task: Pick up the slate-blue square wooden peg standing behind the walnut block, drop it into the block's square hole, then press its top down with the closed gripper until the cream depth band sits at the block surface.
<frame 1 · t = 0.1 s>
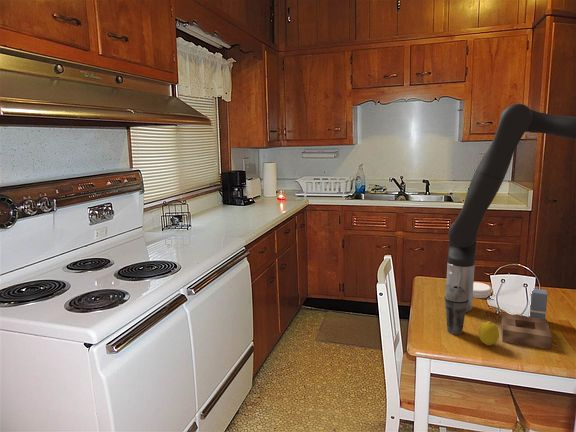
board: (524, 335, 135), on the table
white shallow cylinder: (477, 294, 170), on the table
peg: (536, 321, 144), on the table
beverage cup: (454, 332, 139), on the table
lemon: (488, 346, 129), on the table
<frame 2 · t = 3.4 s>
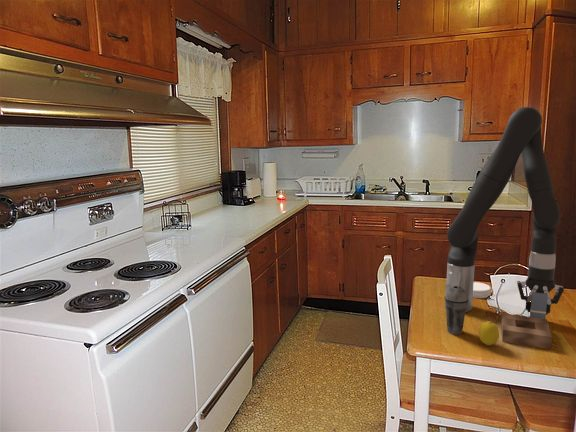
hand: (537, 312, 144), 3 cm above the table, tool pointing down, fingers closed on peg, 4 cm apart
peg: (536, 321, 144), on the table, touching gripper
everything else where it was.
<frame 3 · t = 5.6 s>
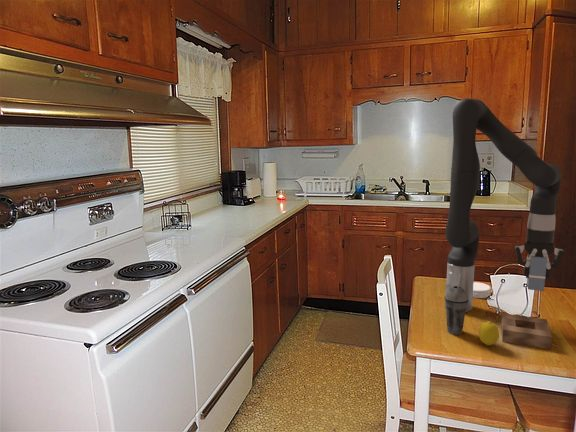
hand: (536, 278, 137), 17 cm above the table, tool pointing down, fingers closed on peg, 4 cm apart
peg: (535, 287, 138), point 14 cm above the table, touching gripper
everything else where it was.
when the fingers open (6 cm above the table, at t = 8.2 s): peg drops 2 cm, resting in board.
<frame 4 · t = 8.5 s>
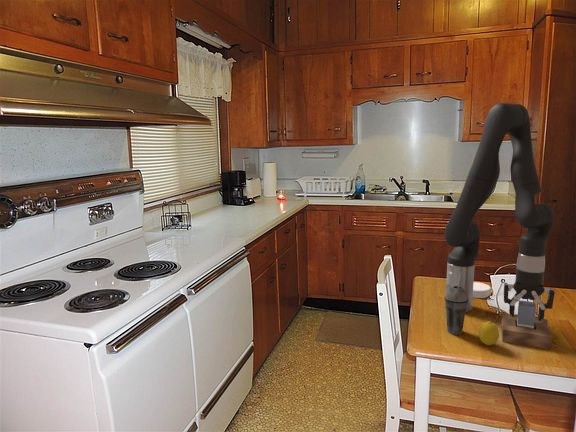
hand: (525, 317, 133), 6 cm above the table, tool pointing down, fingers open, 7 cm apart
peg: (524, 335, 135), resting in board
everything else where it was.
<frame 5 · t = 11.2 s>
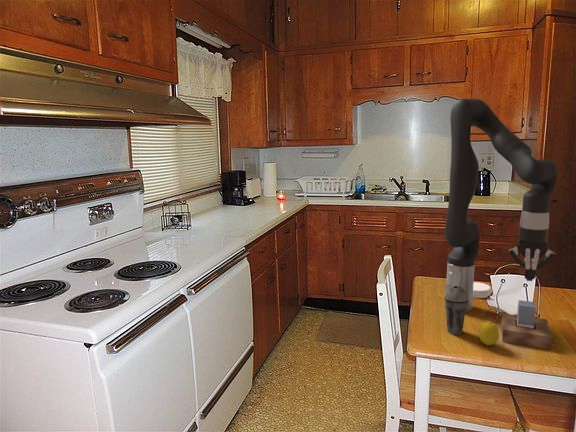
hand: (529, 280, 131), 19 cm above the table, tool pointing down, fingers closed
nothing on the table moved.
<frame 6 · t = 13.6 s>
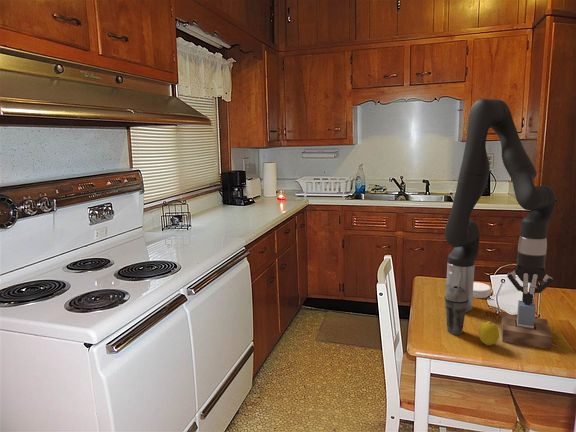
hand: (527, 304, 133), 11 cm above the table, tool pointing down, fingers closed
peg: (523, 336, 135), resting in board, touching gripper
everything else where it was.
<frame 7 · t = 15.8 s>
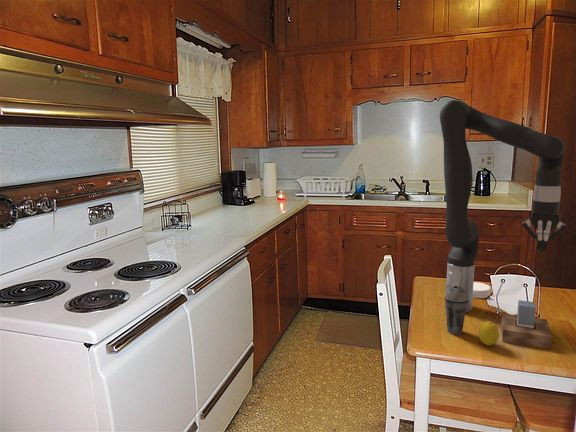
hand: (541, 251, 139), 25 cm above the table, tool pointing down, fingers closed
peg: (523, 336, 135), resting in board
everything else where it was.
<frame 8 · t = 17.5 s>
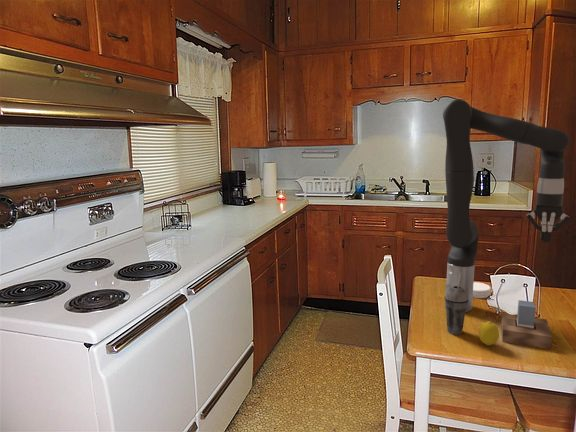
hand: (545, 242, 143), 27 cm above the table, tool pointing down, fingers closed
nothing on the table moved.
at the end: peg 0.1 cm off-centre on the board, point 0.0 cm above the board's base; peg tilted 0°; the gripper is holding nothing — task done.
